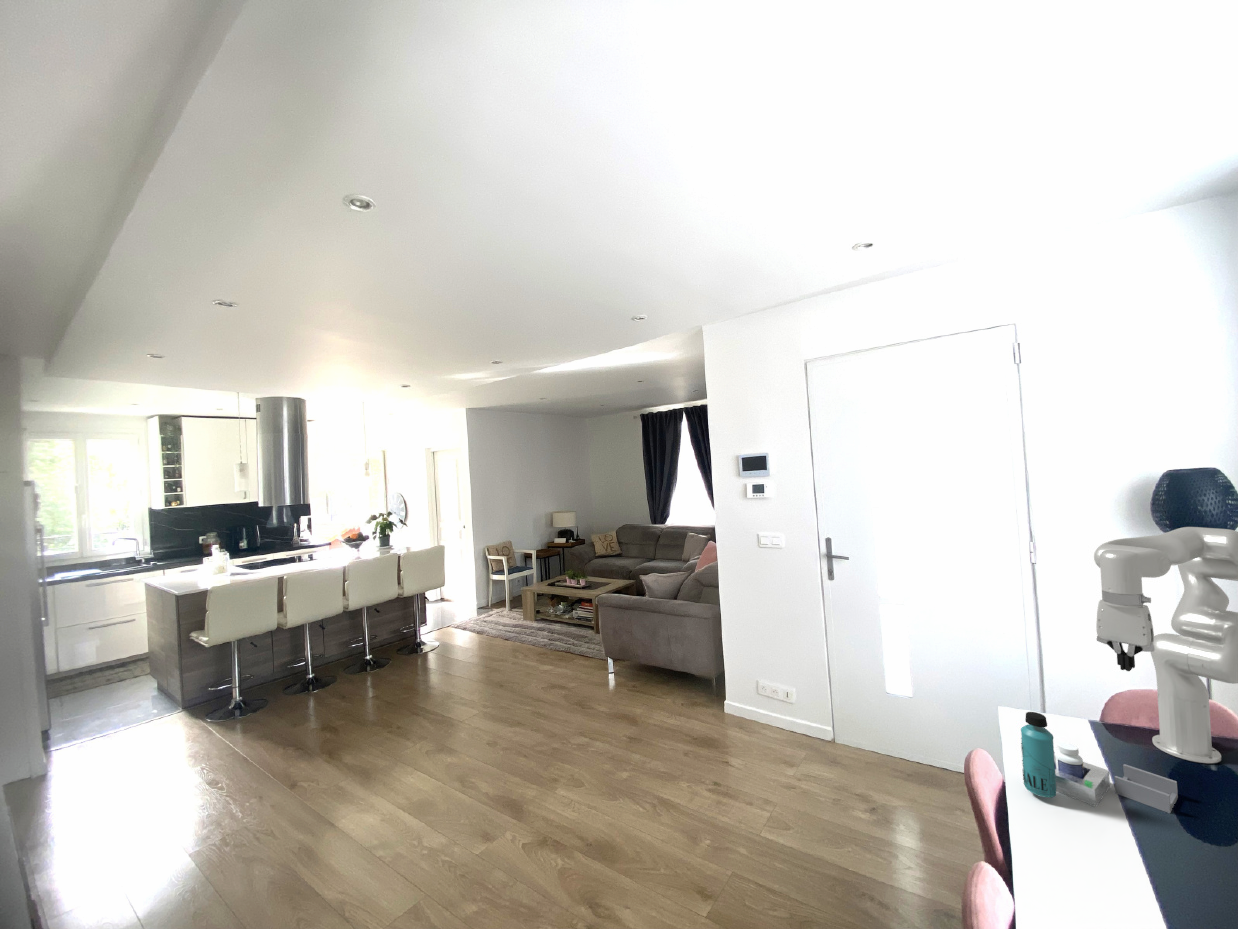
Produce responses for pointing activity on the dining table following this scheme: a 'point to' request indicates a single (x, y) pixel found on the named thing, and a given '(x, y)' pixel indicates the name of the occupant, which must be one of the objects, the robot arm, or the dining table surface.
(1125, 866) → the dining table surface
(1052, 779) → the beverage bottle
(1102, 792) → the port
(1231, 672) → the robot arm
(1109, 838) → the dining table surface
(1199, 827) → the dining table surface
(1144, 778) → the grey open frame
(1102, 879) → the dining table surface
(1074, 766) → the pill bottle
